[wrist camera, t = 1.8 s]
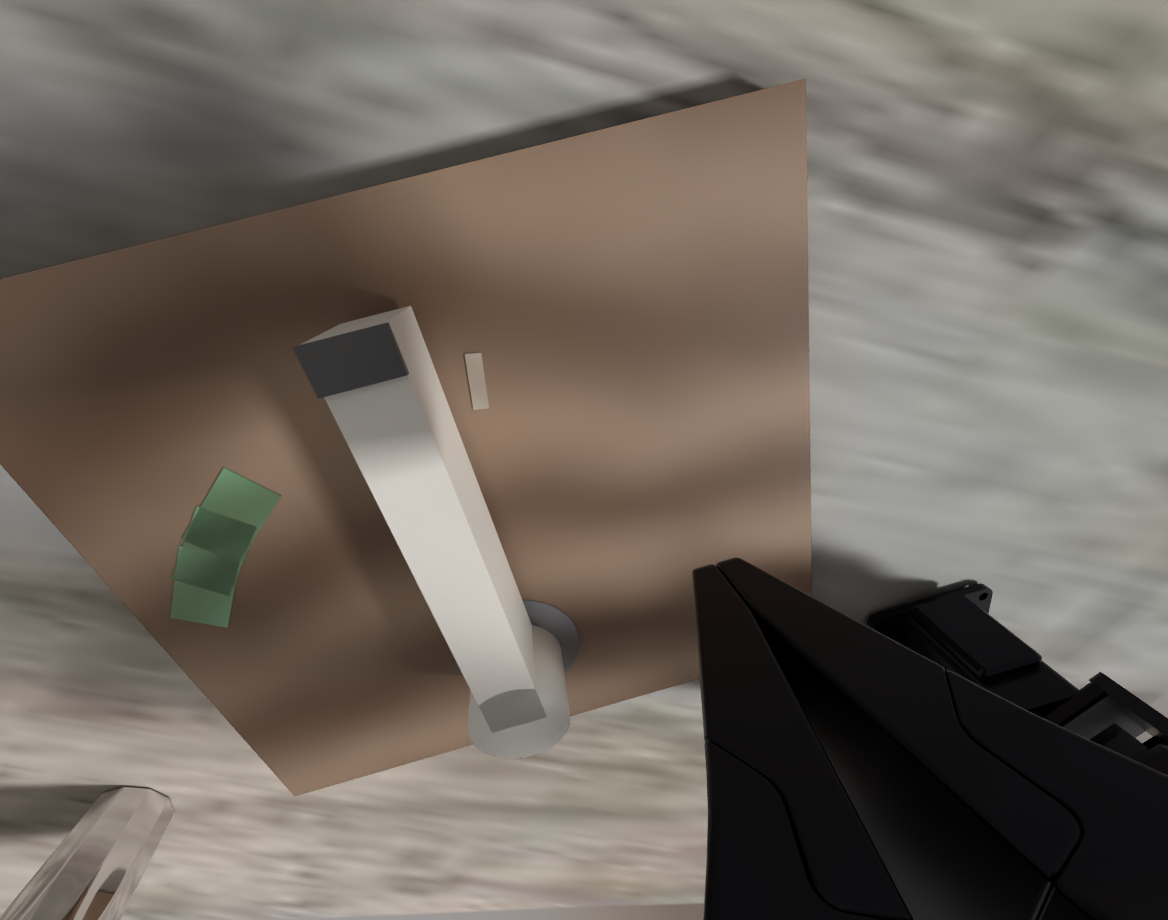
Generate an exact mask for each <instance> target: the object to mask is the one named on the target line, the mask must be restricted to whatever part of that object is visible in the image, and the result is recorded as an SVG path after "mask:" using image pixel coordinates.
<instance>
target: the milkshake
mask: <svg viewBox="0 0 1168 920" xmlns="http://www.w3.org/2000/svg"><path fill="white" fill-rule="evenodd" d="M173 814H174V809H173V807H172V804H171V802H170V800H169V798H168V797H166V796H163V795H161V794H159V793H157V792H155V791H153V790H151V789H146V788H134V787H122V788H119V789H115V790H112V791H108V792H105V793H102V794H101V795H100V796H99V797H98V799H97V800H96V801H95V802H94V803H93V805H92V806H91V807H90V808H89V809H88V811H87V812H86V813H85V814H84V816H83V817H82V818H81V819H80V820H79V822H78V823H77V824H76V825H75V826H74V828H73V829H72V830H71V831H70V833H69V834H68V835H67V836H66V837H65V839H64V840H63V841H62V842H61V843H60V845H59V846H58V847H57V848H56V850H55V851H54V852H53V853H52V854H51V856H50V857H49V858H48V859H47V861H46V862H45V863H44V864H43V865H42V867H41V868H40V869H39V870H38V871H37V873H36V874H35V875H34V876H33V878H32V879H31V880H30V881H29V882H28V884H27V885H26V886H25V887H24V888H23V890H22V891H21V892H20V893H19V895H18V896H17V897H16V898H15V899H14V901H13V902H12V903H11V904H10V905H9V907H8V908H7V909H6V910H5V911H4V913H3V914H2V915H1V916H0V920H121V918H122V916H123V914H124V912H125V910H126V908H127V906H128V904H129V902H130V900H131V898H132V896H133V894H134V892H135V890H136V888H137V886H138V884H139V882H140V880H141V878H142V876H143V874H144V872H145V870H146V868H147V866H148V864H149V862H150V860H151V858H152V856H153V854H154V852H155V850H156V848H157V846H158V844H159V842H160V840H161V838H162V836H163V834H164V832H165V830H166V828H167V826H168V824H169V822H170V820H171V818H172V816H173Z"/></svg>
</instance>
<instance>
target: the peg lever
mask: <svg viewBox="0 0 1168 920" xmlns="http://www.w3.org/2000/svg"><path fill="white" fill-rule="evenodd" d="M293 350H294V352H295V354H296V356H297V358H298V360H299V362H300V364H301V366H302V368H303V370H304V372H305V374H306V376H307V378H308V380H309V382H310V384H311V386H312V388H313V390H314V392H315V394H316V396H317V398H318V399H320V398H323V397H324V398H325V400H326V402H327V404H328V406H329V408H330V410H331V412H332V414H333V416H334V418H335V420H336V422H337V424H338V426H339V428H340V430H341V432H342V434H343V436H344V438H345V440H346V442H347V444H348V446H349V448H350V450H351V452H352V454H353V456H354V458H355V460H356V462H357V464H358V466H359V468H360V470H361V472H362V474H363V476H364V478H365V480H366V482H367V484H368V486H369V488H370V490H371V492H372V494H373V496H374V498H375V500H376V502H377V504H378V506H379V508H380V510H381V512H382V514H383V516H384V518H385V520H386V522H387V524H388V526H389V528H390V530H391V532H392V534H393V536H394V538H395V540H396V542H397V544H398V546H399V548H400V550H401V552H402V554H403V556H404V558H405V560H406V562H407V564H408V566H409V568H410V570H411V572H412V574H413V576H414V578H415V580H416V582H417V584H418V586H419V588H420V590H421V592H422V594H423V596H424V598H425V600H426V602H427V604H428V606H429V608H430V610H431V612H432V614H433V616H434V618H435V620H436V622H437V624H438V626H439V628H440V630H441V632H442V634H443V636H444V638H445V640H446V642H447V644H448V646H449V648H450V650H451V652H452V654H453V656H454V658H455V660H456V662H457V664H458V666H459V668H460V670H461V672H462V674H463V676H464V678H465V680H466V682H467V684H468V686H469V688H470V701H469V713H468V725H467V731H468V736H469V738H470V740H471V742H472V743H473V744H474V745H475V746H476V747H477V748H478V749H479V750H481V751H483V752H484V753H486V754H489V755H492V756H495V757H500V758H523V757H529V756H533V755H536V754H539V753H541V752H543V751H546V750H547V749H549V748H551V747H552V746H554V745H555V744H556V743H558V742H559V741H560V740H561V739H562V738H563V736H564V735H565V734H566V732H567V730H568V728H569V725H570V712H569V704H568V696H567V689H566V681H565V674H564V666H563V658H562V651H561V646H560V644H559V642H558V640H557V639H556V637H555V636H554V635H553V634H551V633H550V632H549V631H547V630H545V629H543V628H541V627H538V626H534V625H532V624H531V622H530V619H529V617H528V614H527V611H526V609H525V606H524V603H523V601H522V598H521V595H520V593H519V590H518V587H517V585H516V582H515V580H514V577H513V574H512V572H511V569H510V566H509V564H508V561H507V558H506V556H505V553H504V550H503V548H502V545H501V542H500V540H499V537H498V535H497V532H496V529H495V527H494V524H493V521H492V519H491V516H490V513H489V511H488V508H487V505H486V503H485V500H484V498H483V495H482V492H481V490H480V487H479V484H478V482H477V479H476V476H475V474H474V471H473V468H472V466H471V463H470V461H469V458H468V455H467V453H466V450H465V447H464V445H463V442H462V439H461V437H460V434H459V431H458V429H457V426H456V423H455V421H454V418H453V416H452V413H451V410H450V408H449V405H448V402H447V400H446V397H445V394H444V392H443V389H442V386H441V384H440V381H439V379H438V376H437V373H436V371H435V368H434V365H433V363H432V360H431V357H430V355H429V352H428V349H427V347H426V344H425V342H424V339H423V336H422V334H421V331H420V328H419V326H418V323H417V320H416V318H415V315H414V312H413V310H412V307H411V306H408V307H404V308H400V309H396V310H392V311H388V312H384V313H380V314H377V315H373V316H369V317H365V318H361V319H357V320H353V321H349V322H346V323H342V324H339V325H337V326H335V327H333V328H331V329H329V330H327V331H326V332H324V333H322V334H320V335H318V336H316V337H314V338H312V339H310V340H308V341H306V342H304V343H302V344H300V345H298V346H295V347H293Z"/></svg>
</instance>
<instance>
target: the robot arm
mask: <svg viewBox="0 0 1168 920" xmlns="http://www.w3.org/2000/svg"><path fill="white" fill-rule="evenodd" d="M692 579H693V592H694V606H695V619H696V632H697V646H698V659H699V673H700V686H701V700H702V713H703V727H704V739H705V758H706V771H707V797H708V834H707V866H706V883H705V901H704V918H703V920H1168V718H1166V717H1164V716H1163V715H1162V714H1161V713H1159V712H1158V711H1156V710H1155V709H1153V708H1152V707H1150V706H1149V705H1148V704H1146V703H1145V702H1143V701H1142V700H1140V699H1139V698H1137V697H1136V696H1135V695H1133V694H1132V693H1130V692H1129V691H1127V690H1126V689H1125V688H1123V687H1122V686H1120V685H1119V684H1117V683H1116V682H1114V681H1113V680H1112V679H1110V678H1109V677H1107V676H1106V675H1104V674H1103V673H1101V672H1099V673H1098V674H1096V675H1095V676H1094V677H1092V678H1091V679H1089V681H1090V683H1089V684H1087V685H1086V686H1085V687H1083V688H1082V689H1080V690H1078V689H1077V688H1076V687H1075V686H1073V685H1072V684H1071V683H1070V682H1068V681H1067V680H1066V679H1065V678H1063V677H1062V676H1061V675H1059V674H1058V673H1057V672H1056V671H1054V670H1053V669H1052V668H1051V667H1049V666H1048V665H1047V664H1046V663H1044V662H1043V661H1042V657H1041V655H1040V654H1039V653H1038V652H1036V651H1035V650H1034V649H1032V648H1031V647H1030V646H1029V645H1027V644H1026V643H1025V642H1023V641H1022V640H1021V639H1020V638H1018V637H1017V636H1016V635H1014V634H1013V633H1012V632H1011V631H1009V630H1008V629H1007V628H1005V627H1004V626H1003V625H1002V624H1000V623H999V622H998V621H997V620H995V619H994V618H993V617H991V616H990V615H989V614H988V613H989V608H990V603H991V599H992V594H993V593H992V590H991V589H990V588H988V587H987V586H985V585H984V584H976V585H973V586H969V587H966V588H962V589H959V590H956V591H952V592H949V593H945V594H942V595H938V596H935V597H931V598H928V599H925V600H921V601H918V602H914V603H911V604H907V605H904V606H900V607H897V608H893V609H890V610H887V611H883V612H880V613H876V614H874V615H872V616H871V617H870V618H869V620H868V622H867V626H866V625H864V624H862V623H860V622H859V621H857V620H855V619H853V618H851V617H849V616H847V615H846V614H844V613H842V612H840V611H838V610H836V609H834V608H832V607H831V606H829V605H827V604H825V603H823V602H821V601H819V600H818V599H816V598H814V597H812V596H810V595H808V594H806V593H804V592H803V591H801V590H799V589H797V588H795V587H793V586H791V585H790V584H788V583H786V582H784V581H782V580H780V579H778V578H776V577H775V576H773V575H771V574H769V573H767V572H765V571H763V570H762V569H760V568H758V567H756V566H754V565H752V564H750V563H748V562H747V561H745V560H743V559H741V558H737V557H735V558H731V559H727V560H724V561H720V562H718V563H717V564H716V565H713V564H709V565H706V566H702V567H699V568H695V569H694V570H693V571H692ZM1145 731H1146V732H1148V733H1149V734H1150V735H1152V736H1153V737H1152V738H1150V739H1149V740H1147V741H1146V742H1144V743H1143V744H1142V743H1141V742H1139V741H1138V740H1137V739H1136V738H1135V737H1137V736H1139V735H1140V734H1142V733H1143V732H1145Z"/></svg>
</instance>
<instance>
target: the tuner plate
mask: <svg viewBox="0 0 1168 920" xmlns="http://www.w3.org/2000/svg"><path fill="white" fill-rule="evenodd" d="M408 306H411V307H412V310H413V312H414V315H415V318H416V320H417V323H418V326H419V328H420V331H421V334H422V336H423V339H424V342H425V344H426V347H427V349H428V352H429V355H430V357H431V360H432V363H433V365H434V368H435V371H436V373H437V376H438V379H439V381H440V384H441V386H442V389H443V392H444V394H445V397H446V400H447V402H448V405H449V408H450V410H451V413H452V416H453V418H454V421H455V423H456V426H457V429H458V431H459V434H460V437H461V439H462V442H463V445H464V447H465V450H466V453H467V455H468V458H469V461H470V463H471V466H472V468H473V471H474V474H475V476H476V479H477V482H478V484H479V487H480V490H481V492H482V495H483V498H484V500H485V503H486V505H487V508H488V511H489V513H490V516H491V519H492V521H493V524H494V527H495V529H496V532H497V535H498V537H499V540H500V542H501V545H502V548H503V550H504V553H505V556H506V558H507V561H508V564H509V566H510V569H511V572H512V574H513V577H514V580H515V582H516V585H517V587H518V590H519V593H520V595H521V598H522V601H523V603H524V606H525V609H526V611H527V614H528V617H529V619H530V622H531V624H532V625H534V626H538V627H541V628H543V629H545V630H547V631H549V632H550V633H551V634H553V635H554V636H555V637H556V639H557V640H558V642H559V644H560V646H561V651H562V658H563V666H564V674H565V681H566V689H567V696H568V704H569V712H570V716H573V715H576V714H579V713H583V712H586V711H590V710H593V709H597V708H600V707H604V706H607V705H610V704H614V703H617V702H621V701H624V700H628V699H631V698H634V697H638V696H641V695H645V694H648V693H652V692H655V691H659V690H662V689H665V688H669V687H672V686H676V685H679V684H683V683H686V682H689V681H693V680H696V679H700V673H699V659H698V646H697V632H696V619H695V606H694V592H693V579H692V571H693V570H694V569H695V568H699V567H702V566H706V565H709V564H713V565H716V564H717V563H718V562H720V561H724V560H727V559H731V558H735V557H737V558H741V559H743V560H745V561H747V562H748V563H750V564H752V565H754V566H756V567H758V568H760V569H762V570H763V571H765V572H767V573H769V574H771V575H773V576H775V577H776V578H778V579H780V580H782V581H784V582H786V583H788V584H790V585H791V586H793V587H795V588H797V589H799V590H801V591H803V592H804V593H806V594H808V595H810V596H812V564H811V479H810V394H809V308H808V223H807V138H806V79H803V80H799V81H795V82H791V83H787V84H782V85H778V86H774V87H770V88H766V89H762V90H758V91H754V92H750V93H746V94H742V95H738V96H734V97H730V98H726V99H722V100H718V101H714V102H710V103H706V104H702V105H698V106H694V107H690V108H686V109H682V110H678V111H674V112H670V113H666V114H662V115H658V116H654V117H650V118H646V119H642V120H638V121H634V122H630V123H626V124H622V125H618V126H614V127H610V128H606V129H601V130H597V131H593V132H589V133H585V134H581V135H577V136H573V137H569V138H565V139H561V140H557V141H553V142H549V143H545V144H541V145H537V146H533V147H529V148H525V149H521V150H517V151H513V152H509V153H505V154H501V155H497V156H493V157H489V158H485V159H481V160H477V161H473V162H469V163H465V164H461V165H457V166H453V167H449V168H445V169H441V170H437V171H433V172H429V173H425V174H420V175H416V176H412V177H408V178H404V179H400V180H396V181H392V182H388V183H384V184H380V185H376V186H372V187H368V188H364V189H360V190H356V191H352V192H348V193H344V194H340V195H336V196H332V197H328V198H324V199H320V200H316V201H312V202H308V203H304V204H300V205H296V206H292V207H288V208H284V209H280V210H276V211H272V212H268V213H264V214H260V215H256V216H252V217H248V218H244V219H240V220H235V221H231V222H227V223H223V224H219V225H215V226H211V227H207V228H203V229H199V230H195V231H191V232H187V233H183V234H179V235H175V236H171V237H167V238H163V239H159V240H155V241H151V242H147V243H143V244H139V245H135V246H131V247H127V248H123V249H119V250H115V251H111V252H107V253H103V254H99V255H95V256H91V257H87V258H83V259H79V260H75V261H71V262H67V263H63V264H59V265H54V266H50V267H46V268H42V269H38V270H34V271H30V272H26V273H22V274H18V275H14V276H10V277H6V278H2V279H0V464H1V465H2V467H3V468H4V469H5V470H6V471H7V472H8V473H9V475H10V476H11V477H12V478H13V479H14V480H15V481H16V482H17V484H18V485H19V486H20V487H21V488H22V489H23V490H24V491H25V493H26V494H27V495H28V496H29V497H30V498H31V499H32V500H33V502H34V503H35V504H36V505H37V506H38V507H39V508H40V509H41V511H42V512H43V513H44V514H45V515H46V516H47V517H48V519H49V520H50V521H51V522H52V523H53V524H54V525H55V526H56V528H57V529H58V530H59V531H60V532H61V533H62V534H63V535H64V537H65V538H66V539H67V540H68V541H69V542H70V543H71V544H72V546H73V547H74V548H75V549H76V550H77V551H78V552H79V554H80V555H81V556H82V557H83V558H84V559H85V560H86V561H87V563H88V564H89V565H90V566H91V567H92V568H93V569H94V570H95V572H96V573H97V574H98V575H99V576H100V577H101V578H102V579H103V581H104V582H105V583H106V584H107V585H108V586H109V587H110V588H111V590H112V591H113V592H114V593H115V594H116V595H117V596H118V598H119V599H120V600H121V601H122V602H123V603H124V604H125V605H126V607H127V608H128V609H129V610H130V611H131V612H132V613H133V614H134V616H135V617H136V618H137V619H138V620H139V621H140V622H141V623H142V625H143V626H144V627H145V628H146V629H147V630H148V631H149V633H150V634H151V635H152V636H153V637H154V638H155V639H156V640H157V642H158V643H159V644H160V645H161V646H162V647H163V648H164V649H165V651H166V652H167V653H168V654H169V655H170V656H171V657H172V658H173V660H174V661H175V662H176V663H177V664H178V665H179V666H180V667H181V669H182V670H183V671H184V672H185V673H186V674H187V675H188V677H189V678H190V679H191V680H192V681H193V682H194V683H195V684H196V686H197V687H198V688H199V689H200V690H201V691H202V692H203V693H204V695H205V696H206V697H207V698H208V699H209V700H210V701H211V702H212V704H213V705H214V706H215V707H216V708H217V709H218V710H219V712H220V713H221V714H222V715H223V716H224V717H225V718H226V719H227V721H228V722H229V723H230V724H231V725H232V726H233V727H234V728H235V730H236V731H237V732H238V733H239V734H240V735H241V736H242V737H243V739H244V740H245V741H246V742H247V743H248V744H249V745H250V746H251V748H252V749H253V750H254V751H255V752H256V753H257V754H258V756H259V757H260V758H261V759H262V760H263V761H264V762H265V763H266V765H267V766H268V767H269V768H270V769H271V770H272V771H273V772H274V774H275V775H276V776H277V777H278V778H279V779H280V780H281V781H282V783H283V784H284V785H285V786H286V787H287V788H288V789H289V791H290V792H291V793H292V794H293V795H294V796H298V795H301V794H305V793H308V792H311V791H315V790H318V789H322V788H325V787H329V786H332V785H335V784H339V783H342V782H346V781H349V780H353V779H356V778H360V777H363V776H366V775H370V774H373V773H377V772H380V771H384V770H387V769H390V768H394V767H397V766H401V765H404V764H408V763H411V762H415V761H418V760H421V759H425V758H428V757H432V756H435V755H439V754H442V753H445V752H449V751H452V750H456V749H459V748H463V747H466V746H470V745H473V743H472V742H471V740H470V738H469V736H468V731H467V725H468V713H469V701H470V688H469V686H468V684H467V682H466V680H465V678H464V676H463V674H462V672H461V670H460V668H459V666H458V664H457V662H456V660H455V658H454V656H453V654H452V652H451V650H450V648H449V646H448V644H447V642H446V640H445V638H444V636H443V634H442V632H441V630H440V628H439V626H438V624H437V622H436V620H435V618H434V616H433V614H432V612H431V610H430V608H429V606H428V604H427V602H426V600H425V598H424V596H423V594H422V592H421V590H420V588H419V586H418V584H417V582H416V580H415V578H414V576H413V574H412V572H411V570H410V568H409V566H408V564H407V562H406V560H405V558H404V556H403V554H402V552H401V550H400V548H399V546H398V544H397V542H396V540H395V538H394V536H393V534H392V532H391V530H390V528H389V526H388V524H387V522H386V520H385V518H384V516H383V514H382V512H381V510H380V508H379V506H378V504H377V502H376V500H375V498H374V496H373V494H372V492H371V490H370V488H369V486H368V484H367V482H366V480H365V478H364V476H363V474H362V472H361V470H360V468H359V466H358V464H357V462H356V460H355V458H354V456H353V454H352V452H351V450H350V448H349V446H348V444H347V442H346V440H345V438H344V436H343V434H342V432H341V430H340V428H339V426H338V424H337V422H336V420H335V418H334V416H333V414H332V412H331V410H330V408H329V406H328V404H327V402H326V400H325V398H324V397H323V398H320V399H318V398H317V396H316V394H315V392H314V390H313V388H312V386H311V384H310V382H309V380H308V378H307V376H306V374H305V372H304V370H303V368H302V366H301V364H300V362H299V360H298V358H297V356H296V354H295V352H294V350H293V347H295V346H298V345H300V344H302V343H304V342H306V341H308V340H310V339H312V338H314V337H316V336H318V335H320V334H322V333H324V332H326V331H327V330H329V329H331V328H333V327H335V326H337V325H339V324H342V323H346V322H349V321H353V320H357V319H361V318H365V317H369V316H373V315H377V314H380V313H384V312H388V311H392V310H396V309H400V308H404V307H408Z"/></svg>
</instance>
